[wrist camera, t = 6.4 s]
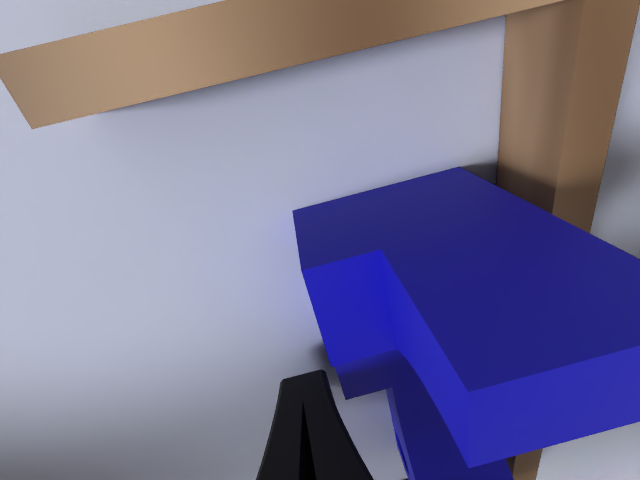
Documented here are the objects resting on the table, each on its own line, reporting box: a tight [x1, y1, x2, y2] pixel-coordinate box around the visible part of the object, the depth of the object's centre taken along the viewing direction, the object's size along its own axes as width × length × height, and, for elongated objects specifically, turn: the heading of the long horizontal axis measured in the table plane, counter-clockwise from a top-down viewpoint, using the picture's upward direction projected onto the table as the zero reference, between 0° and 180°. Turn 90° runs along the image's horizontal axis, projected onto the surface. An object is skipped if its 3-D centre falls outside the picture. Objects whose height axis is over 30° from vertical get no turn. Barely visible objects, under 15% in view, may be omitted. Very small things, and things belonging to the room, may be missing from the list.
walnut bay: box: [0, 0, 640, 480], centre depth 10 cm, size 10×20×2 cm, turn 12°
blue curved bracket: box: [293, 167, 640, 480], centre depth 9 cm, size 12×4×6 cm, turn 13°
